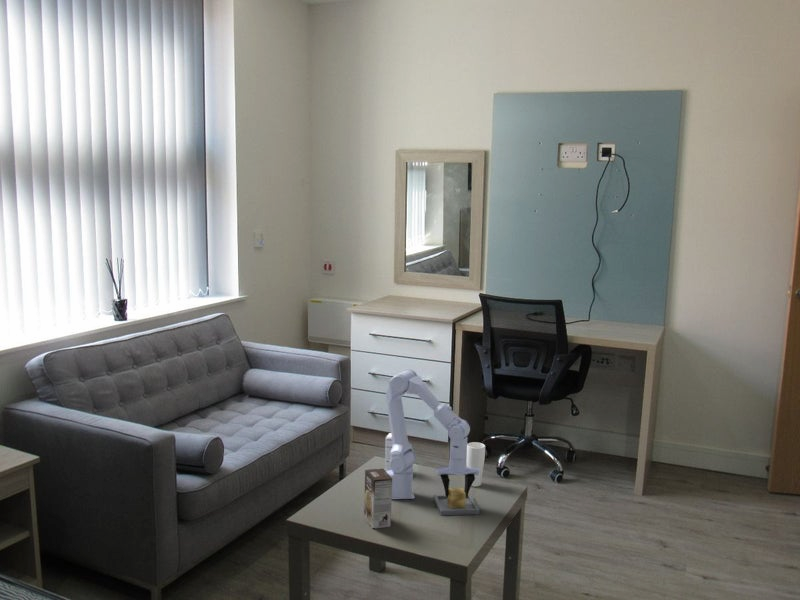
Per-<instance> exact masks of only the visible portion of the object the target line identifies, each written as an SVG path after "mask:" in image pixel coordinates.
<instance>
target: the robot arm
mask: <svg viewBox="0 0 800 600" xmlns="http://www.w3.org/2000/svg"><path fill="white" fill-rule="evenodd" d="M405 394H409V395H416V396H418V397H419V398H420V399H421V400H422V401H423V402H424V403H425V404H426V406H428V407H429V408H431V410H433V417H434V418H435V419H436V420H437V421H438V422H439V423H440V424H441V425H442V426H443V427H444V428H445V430H447V435H448V437H449V439H450V440H449V441H450V442H449V464H448V466H447V467H442V468H435V476H436V477H440V479H441V482H442V484H443V488H444V495H446V497H448V496H449V488H450V480H451V479H450V478H449V476H459V477H460V476H464V488H463V490H464V491H465V493H466V496H468V494H469V493H470V489H471V487H472V486H471V485H472V483H473V482H474V480H475V476H474V475H479V469H478V468H470V467H467V462H466V460H467V444H468V435H469V434H470V432H471V426H470V424H469V423H468V421H467V420H465V419H462V418H461V417H460V416H458V415H457V414H456V413H455V412H454V410H452V409H453V407H452V406H450V405H448V404H445V403H441V402H440V401H439V399H438V398H437V397H436V396H435V395H434V393H433V392H432V391H431V390H430V389H429V388H428V386H427V385H426V384H425V383H424V381H423V380H422V378H421V376H419V375H418V374H417V372H416V371H415V370H413V369H405V370H404V371H402V372H400V373H397V374H394V375H393V376H392V377H391V378H390V379H389V380H388V387H387V390H386V392H385V402H386V407H387V415H388V421H389V422H388V423H389V426H390V427H389V428H390V433H391V435H392V441H393V447H392V449H391V452H390V454H391V459H390V468H391V469H392V470H389V471H386V472H387V473H388V474H389V475H390V476H391V477H392V500H409V499H410V500H411V499H412V500H414V499H415V498H416V497H415V495H414V492H413V481H414V480H413V478H414V477H413V476H414V468H413V467H414V466H413V465H414V464H416V461H417V456H416V455H417V454H416V453H415V451H414V449H413V445H412V444H411V443H410V442H409V439H408V432H407V427H406V425H407V424H406V418H405V412H404V407H403V400H402V398H403V397H404V395H405Z"/></svg>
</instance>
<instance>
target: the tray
mask: <svg viewBox="0 0 800 600" xmlns="http://www.w3.org/2000/svg"><path fill="white" fill-rule="evenodd" d="M447 498H448V497H446V495H445V494H433V501H434V503H435V506H436V508H437V510H438V512H439V514H440V516H456V515H457V516H460V515H479V514H480V511H481V510H480V508H479V506H478V505H477V503H476V501H475V500H474V498H473V496H472V495H471V493H470V494H469V493H468V496H466V500H465V508H450V506H449V504H448V503H447Z"/></svg>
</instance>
